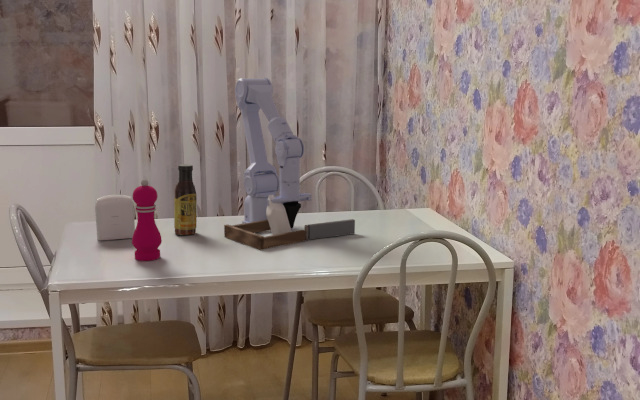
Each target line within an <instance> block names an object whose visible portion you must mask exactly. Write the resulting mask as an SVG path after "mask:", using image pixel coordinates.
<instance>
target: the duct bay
mask: <svg viewBox="0 0 640 400" xmlns="http://www.w3.org/2000/svg"><path fill="white" fill-rule="evenodd" d="M308 225H309V224H305V225H304V229H300V230H295V231H294V230H293V231H291V232H287V233H282V234H277V235H273V234H272V235H268V236H264V235H261V234H258V233H262V232H269V231H271V229H270V225H269V222H268V220H262V221H256V222H250V223H238V224H232V225H231V224H224V226H223V229H224V234H223V235H224V238H226V239H229V240H231V241H234V242H237V243H239V244H242V245H245V246H248V247H251V248H254V249H256V250H260V251H263V250H267V249H272V248H278V247H283V246H287V245H292V244H297V243H301V242H306V241H309V239H308Z"/></svg>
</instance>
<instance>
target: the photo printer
mask: <svg viewBox="0 0 640 400" xmlns="http://www.w3.org/2000/svg"><path fill="white" fill-rule="evenodd" d="M134 207H135V205H134V200H133V199H132V196H130V195H124V194H109V195H103V196H101V197H98V198H96V202H95V208H94V212H95V226H96V238H97V241H100V242H101V241H113V240H122V239H123V240H125V239H132V237H133V234H134V231H135V229H136V228H135V227H136V226H135V209H134Z"/></svg>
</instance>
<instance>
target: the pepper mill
mask: <svg viewBox="0 0 640 400" xmlns="http://www.w3.org/2000/svg"><path fill="white" fill-rule="evenodd" d="M157 200H158V192H157V190H156V188H155V187H153V186H150V185H149V181H148V180H147V179H146V178H145V179H141V182H140V185H139V186H137V187H136V188H135V189H134V190H133V192H132V201H133V203H135V204H136V205H134V207H135V209H134V212H136V214H137V222H136V226H135V227H136V228H135V231H134V234H133V237H132V238H131V243H132V244H131V245H132V246H133V247H134V249H135V251H134V259H135V260H136V261H141V262H150V261H155V260H159V259H160V258H161V249H159V247H160V246H161V244H162V242H163V240H162V234H161V232H160V230H159V228H158V226H157V223H156V220H155V212H156V210H157V208H156V206H157V205H156V204H155V203H156V202H157Z"/></svg>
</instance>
